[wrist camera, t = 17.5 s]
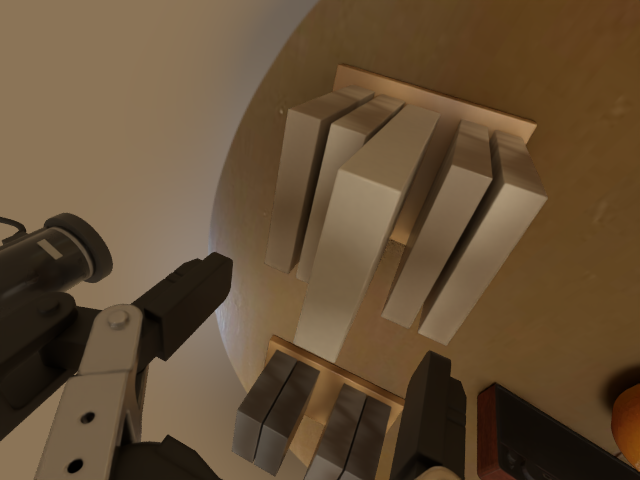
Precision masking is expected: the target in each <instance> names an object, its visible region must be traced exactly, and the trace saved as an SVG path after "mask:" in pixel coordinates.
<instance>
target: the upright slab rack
mask: <svg viewBox="0 0 640 480" xmlns="http://www.w3.org/2000/svg"><path fill="white" fill-rule="evenodd" d="M407 104H411V105H414V106H417V107H421V108H424V109H427V110H430V111H434V112H437V113H440V117H439V120H438V122H437V125H436V127H435V130H434V132H433V135H432V137H431V140H430V142H429V144H428V147H427V149H426V152H425V154H424V157H423V159H422V162H421V164H420V167H419V169H418V172H417V174H416V176H415V179H414V181H413V184H412V186H411V189H410V191H409V194H408V196H407V199H406V201H405V203H404V206H403V208H402V211H401V213H400V216H399V218H398V221H397V223H396V226H395V228H394V230H393V233H392V235H391V237H390V239H392V240H394V241H397V242H399V243H402V244H404V245H406V246H405V249H404V252H403V254H402V257H401V260H400V263H399V266H398V269H397V271H396V274H395V277H394V280H393V283H392V286H391V289H390V291H389V294H388V297H387V300H386V303H385V306H384V308H383V311H382V314H381V317H383V318H386V319H388V320H390V321H392V322H394V323H397V324H399V325H401V326H403V327H406V328H408V329H409V328H410V326H411V325H412V323H413V321H414V319H415V317H416V316H417V314H418V312H419V310H420V308H421V307H422V305H423V308H422V313H421V318H420V323H419V328H418V333H419V334H421V335H424V336H426V337H428V338H430V339H433V340H435V341H437V342H439V343H441V344H444V345H446V346H447V345H448V343H449V342H450V340H451V339H452V337H453V336H454V334H455V333H456V332H457V330H458V329H459V327H460V326H461V324H462V323H463V321H464V320H465V318H466V317H467V316H468V314H469V313H470V311H471V310H472V308H473V307H474V305H475V304H476V302H477V301H478V299H479V298H480V297H481V295H482V294H483V292H484V291H485V289H486V288H487V286H488V285H489V283H490V282H491V281H492V279H493V278H494V276H495V275H496V273H497V272H498V270H499V269H500V267H501V266H502V264H503V263H504V262H505V260H506V259H507V257H508V256H509V254H510V253H511V251H512V250H513V248H514V247H515V246H516V244H517V243H518V241H519V240H520V238H521V237H522V235H523V234H524V232H525V231H526V229H527V228H528V227H529V225H530V224H531V222H532V221H533V219H534V218H535V216H536V215H537V213H538V212H539V211H540V209H541V208H542V206H543V205H544V203H545V202H546V200H547V199H548V196H547V194H546V192H545V189H544V187H543V185H542V182H541V180H540V178H539V176H538V173H537V171H536V169H535V166H534V164H533V162H532V159H531V157H530V155H529V152H528V150H527V148H526V144H527V142H528V140H529V139H530V137H531V135H532V133H533V132H534V130H535V128H536V127H537V124H536V122H535V121H531V120H528V119H525V118H521V117H518V116H515V115H511V114H508V113H505V112H502V111H498V110H495V109H492V108H488V107H485V106H482V105H478V104H475V103H472V102H469V101H465V100H462V99H459V98H455V97H452V96H449V95H445V94H442V93H439V92H436V91H432V90H429V89H426V88H422V87H419V86H416V85H412V84H409V83H406V82H402V81H399V80H396V79H393V78H389V77H386V76H383V75H379V74H376V73H373V72H369V71H366V70H363V69H360V68H356V67H353V66H350V65H346V64H338V67H337V72H336V76H335V81H334V85H333V90H332V93H329V94H326V95H323V96H321V97H318V98H315V99H313V100H310V101H307V102H305V103H302V104H299V105H297V106H294V107H291V108H289V109H288V113H287V120H286V126H285V133H284V139H283V146H282V152H281V159H280V165H279V172H278V178H277V185H276V191H275V198H274V204H273V211H272V217H271V224H270V230H269V237H268V243H267V250H266V256H265V264H266V265H269V266H271V267H273V268H275V269H278V270H280V271H282V272H284V273H286V274H289V273H290V271H291V270H292V269H293V268H294V266H295V265H296V264H297V263H298V261H299V260H300V261H299V265H298V270H297V274H296V278H297V279H300V280H302V281H304V282H306V283H309V279H310V276H311V272H312V268H313V264H314V260H315V256H316V253H317V249H318V245H319V241H320V237H321V233H322V229H323V226H324V222H325V218H326V214H327V210H328V206H329V202H330V199H331V195H332V191H333V187H334V183H335V179H336V176H337V172H338V169H339V168H340V167H341V166H342V165H344V164H345V163H346V162H347V161H348V160H349V159H350V158H351V157H352V156H353V155H354V154H355V153H356V152H357V151H358V150H360V149H361V148H362V147H363V146H364V145H365V144H366V143H367V142H368V141H369V140H370V139H371V138H372V137H373V136H374V135H375V134H377V133H378V132H379V131H380V130H381V129H382V128H383V127H384V126H385V125H386V124H387V123H388V122H389V121H390V120H391V119H393V118H394V117H395V116H396V115H397V114H398V113H399V112H400V111H401V110H402V109H403V108H404V107H405V106H406V105H407ZM423 303H424V304H423Z"/></svg>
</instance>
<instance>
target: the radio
mask: <svg viewBox="0 0 640 480" xmlns="http://www.w3.org/2000/svg"><path fill="white" fill-rule="evenodd" d="M477 474H478V476H479V478H480V479H481V480H640V472H638V471H637V470H635V469H634V468H632V467H630V466H629V465H627V464H626V463H624V462H622V461H621V460H619V459H617V458H616V457H614V456H613V455H611V454H609V453H608V452H606V451H605V450H603V449H601V448H600V447H598V446H597V445H595V444H593V443H592V442H590V441H589V440H587V439H585V438H584V437H582V436H581V435H579V434H577V433H576V432H574V431H573V430H571V429H569V428H568V427H566V426H564V425H563V424H561V423H560V422H558V421H556V420H555V419H553V418H552V417H550V416H548V415H547V414H545V413H544V412H542V411H540V410H539V409H537V408H536V407H534V406H532V405H531V404H529V403H528V402H526V401H524V400H523V399H521V398H520V397H518V396H516V395H515V394H513V393H511V392H510V391H508V390H507V389H505V388H503V387H502V386H500V385H498V384H495V385H493V386H492V387H490V388H489V389H487V390H486V391H484V392H483V393H481V394H480V395H478V397H477Z"/></svg>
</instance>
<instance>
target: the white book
mask: <svg viewBox="0 0 640 480" xmlns="http://www.w3.org/2000/svg"><path fill="white" fill-rule="evenodd" d="M439 117H440V113H437V112H434V111H430V110H427V109H424V108H421V107H417V106H414V105H411V104H407V105H406V106H405V107H404V108H403V109H402V110H401V111H400V112H399V113H398V114H397V115H396V116H395V117H394V118H393V119H391V120H390V121H389V122H388V123H387V124H386V125H385V126H384V127H383V128H382V129H381V130H380V131H379V132H378V133H377V134H375V135H374V136H373V137H372V138H371V139H370V140H369V141H368V142H367V143H366V144H365V145H364V146H363V147H362V148H361V149H360V150H358V151H357V152H356V153H355V154H354V155H353V156H352V157H351V158H350V159H349V160H348V161H347V162H346V163H345V164H344V165H342V166H341V167H340V168H339V169H338V172H337V176H336V179H335V183H334V187H333V191H332V195H331V199H330V202H329V206H328V210H327V214H326V218H325V222H324V226H323V229H322V233H321V237H320V241H319V245H318V249H317V253H316V256H315V260H314V264H313V268H312V272H311V276H310V279H309V283H308V287H307V291H306V295H305V299H304V303H303V306H302V310H301V314H300V318H299V322H298V326H297V330H296V333H295V337H294V341H293V343H294V344H296V345H298V346H300V347H302V348H304V349H306V350H308V351H310V352H312V353H314V354H316V355H318V356H320V357H322V358H324V359H327V360H329V361H331V362H333V363H334V362H335V361H336V359H337V357H338V355H339V352H340V350H341V348H342V346H343V343H344V341H345V339H346V337H347V334H348V332H349V330H350V328H351V325H352V323H353V321H354V319H355V316H356V314H357V312H358V309H359V307H360V305H361V303H362V300H363V298H364V296H365V294H366V291H367V289H368V287H369V285H370V282H371V280H372V278H373V276H374V273H375V271H376V269H377V267H378V264H379V262H380V260H381V258H382V255H383V253H384V251H385V248H386V246H387V244H388V242H389V239H390V237H391V235H392V233H393V230H394V228H395V226H396V223H397V221H398V218H399V216H400V213H401V211H402V208H403V206H404V203H405V201H406V199H407V196H408V194H409V191H410V189H411V186H412V184H413V181H414V179H415V176H416V174H417V172H418V169H419V167H420V164H421V162H422V159H423V157H424V154H425V152H426V149H427V147H428V144H429V142H430V140H431V137H432V135H433V132H434V130H435V127H436V125H437V122H438V120H439Z"/></svg>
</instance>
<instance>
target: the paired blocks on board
mask: <svg viewBox="0 0 640 480" xmlns="http://www.w3.org/2000/svg"><path fill="white" fill-rule="evenodd" d="M404 403H405V400H404V399H402V398H400V397H398V396H396V395H394V394H392V393H390V392H388V391H386V390H384V389H382V388H380V387H378V386H376V385H374V384H372V383H370V382H368V381H366V380H364V379H362V378H360V377H358V376H355V375H353V374H351V373H349V372H347V371H345V370H343V369H341V368H339V367H337V366H335V365H333V364H331V363H329V362H327V361H325V360H323V359H321V358H319V357H317V356H315V355H313V354H311V353H309V352H307V351H305V350H303V349H301V348H299V347H297V346H295V345H293V344H291V343H289V342H287V341H285V340H283V339H281V338H279V337H277V336H275V335H273V336H272V337H271V339H270V341H269V347H268V352H267V357H266V362H265V367H264V370H263V371H262V373H261V374H260V376H259V377H258V379H257V380H256V382H255V384H254V385H253V387H252V388H251V390H250V391H249V393H248V394H247V396H246V397H245V399H244V401H243V402H242V404H241V405H240V407H239V408H238V410H237V416H236V423H235V430H234V437H233V446H232V452H234V453H236V454H237V455H239V456H241V457H243V458H244V459H246V460H248V461H249V462H251V463H253V461H254V459H255V462H254V464H255V465H256V466H258V467H259V468H261V469H263V470H265V471H267V472H268V473H270V474H271V475H273V476H276V474H277V472H278V470H279V468H280V466H281V464H282V461H283V459H284V457H285V455H286V453H287V451H288V448H289V446H290V444H291V442H292V440H293V438H294V435H295V433H296V431H297V429H298V427H299V425H300V423H301V420H302V418H303V416H304V415H306V416H308V417H309V418H311V419H313V420H315V421H317V422H319V423H321V424H323V425H324V426H325V427H324V429H323V432H322V434H321V437H320V439H319V442H318V444H317V447H316V449H315V452H314V454H313V457H312V459H311V462H310V464H309V467H308V470H307V472H306V475H305V477H304V480H374V479H375V475H376V471H377V467H378V463H379V458H380V454H381V450H382V446H383V441H384V437H385V434H386V433H387V431H388V430H389V429H390V427H391V426H392V424H393V423H394V421H395V420H396V418H397V417H398V415H399V414H400V412H401V411H402V410H403V408H404Z"/></svg>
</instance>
